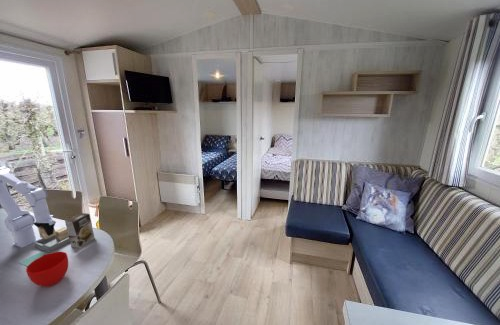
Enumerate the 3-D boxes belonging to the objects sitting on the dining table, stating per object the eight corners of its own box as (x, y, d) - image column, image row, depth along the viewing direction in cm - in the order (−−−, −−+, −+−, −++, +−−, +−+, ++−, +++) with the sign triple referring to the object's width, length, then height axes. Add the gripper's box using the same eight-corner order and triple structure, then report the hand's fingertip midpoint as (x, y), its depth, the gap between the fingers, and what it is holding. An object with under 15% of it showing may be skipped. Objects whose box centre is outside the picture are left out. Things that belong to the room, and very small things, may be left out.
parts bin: (34, 247, 116) (33, 242, 115) (63, 233, 128) (62, 228, 128) (50, 253, 111) (48, 248, 110) (79, 237, 124) (78, 233, 123)
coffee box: (80, 248, 114) (73, 222, 110) (70, 247, 116) (63, 220, 111) (95, 238, 123) (89, 213, 119) (86, 237, 124) (80, 212, 120)
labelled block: (40, 237, 114) (37, 227, 112) (50, 232, 118) (48, 223, 117) (45, 239, 113) (42, 229, 111) (56, 234, 117) (53, 224, 115)
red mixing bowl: (66, 261, 105) (61, 244, 102) (75, 279, 94) (70, 260, 92) (29, 277, 95) (22, 259, 93) (35, 298, 85) (28, 278, 82)
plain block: (56, 240, 121) (53, 230, 119) (65, 235, 125) (63, 226, 124) (61, 241, 119) (58, 232, 118) (70, 237, 124) (68, 228, 122)
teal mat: (18, 263, 104) (18, 262, 104) (41, 251, 112) (41, 251, 112) (29, 268, 101) (29, 267, 101) (52, 256, 109) (51, 255, 109)
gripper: (58, 210, 113) (64, 232, 116) (42, 205, 117) (48, 227, 121) (42, 216, 106) (49, 239, 110) (25, 211, 111) (32, 234, 115)
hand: (47, 233), depth 115 cm, fingers closed on labelled block, 5 cm apart
